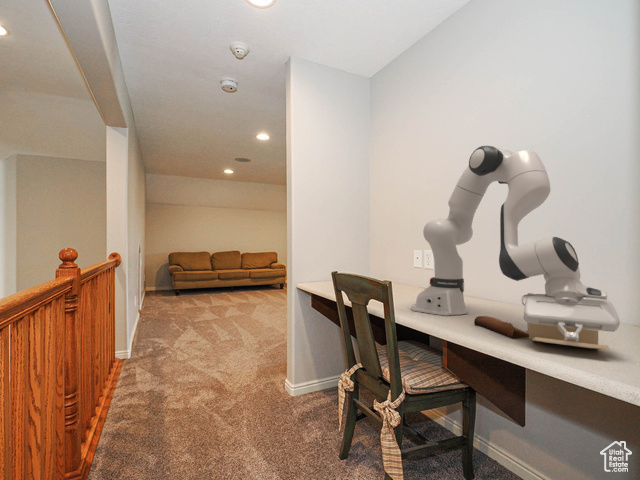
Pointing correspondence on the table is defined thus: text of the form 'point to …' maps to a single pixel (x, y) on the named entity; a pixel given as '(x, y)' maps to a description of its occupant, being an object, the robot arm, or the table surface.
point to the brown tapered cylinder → (500, 327)
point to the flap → (569, 343)
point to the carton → (554, 333)
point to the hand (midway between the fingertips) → (571, 340)
